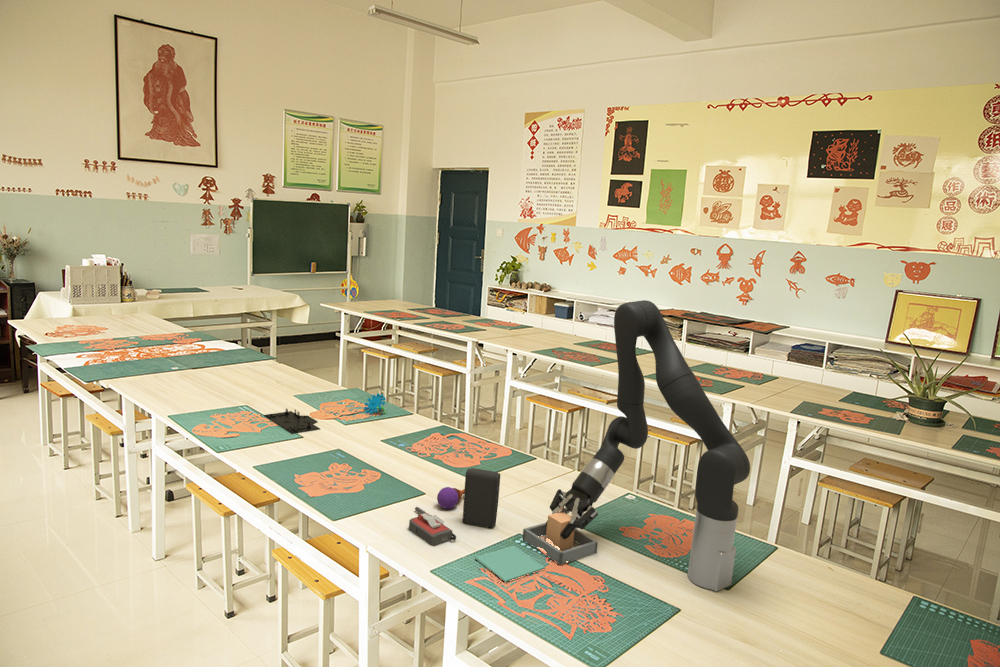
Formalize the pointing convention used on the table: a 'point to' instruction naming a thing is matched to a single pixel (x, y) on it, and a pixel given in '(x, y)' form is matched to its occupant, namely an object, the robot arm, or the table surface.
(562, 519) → the block
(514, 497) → the table surface
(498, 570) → the mat
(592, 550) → the grey rectangular frame
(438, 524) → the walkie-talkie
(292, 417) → the circuit board
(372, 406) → the gear
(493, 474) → the card reader
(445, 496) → the kendama
